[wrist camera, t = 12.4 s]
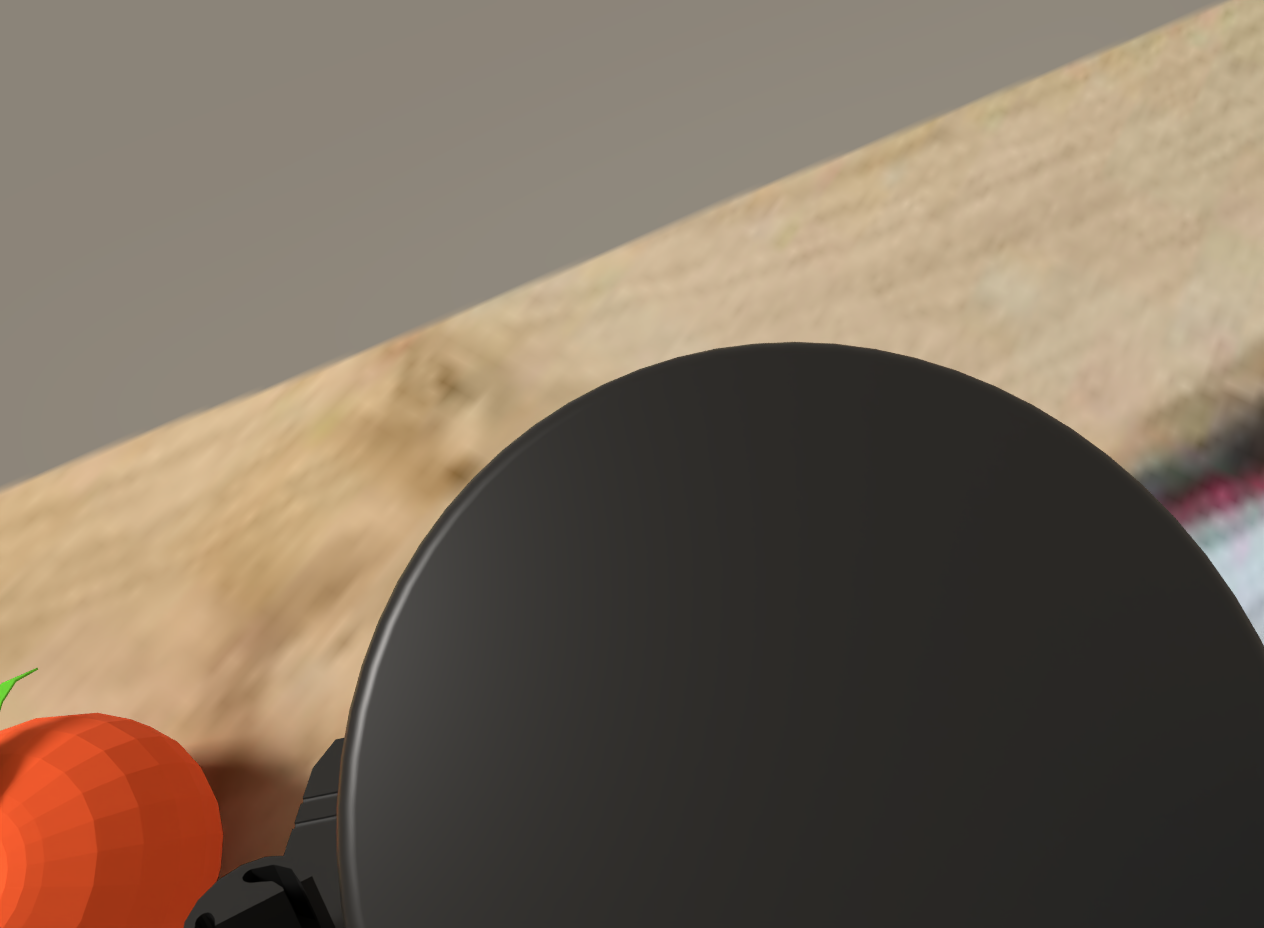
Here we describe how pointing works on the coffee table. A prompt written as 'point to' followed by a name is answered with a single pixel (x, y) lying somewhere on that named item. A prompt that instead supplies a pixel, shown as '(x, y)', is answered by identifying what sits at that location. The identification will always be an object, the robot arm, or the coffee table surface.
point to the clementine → (102, 825)
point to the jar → (805, 673)
